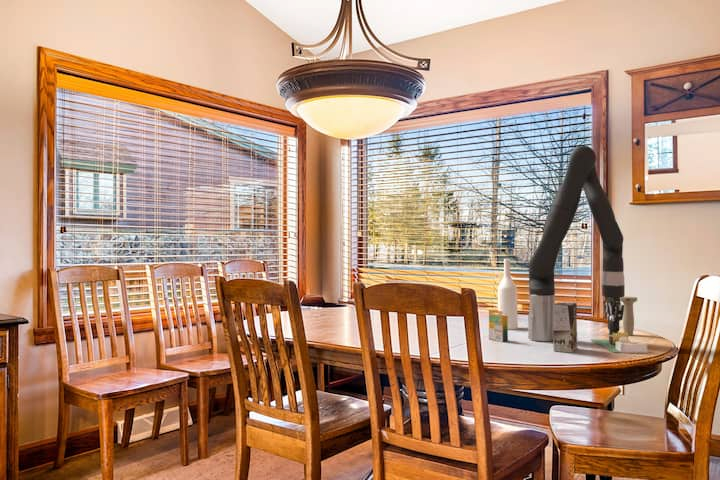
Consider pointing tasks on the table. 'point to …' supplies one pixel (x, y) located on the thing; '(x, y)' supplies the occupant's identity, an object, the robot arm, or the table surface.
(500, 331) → the crayon box
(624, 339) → the ball
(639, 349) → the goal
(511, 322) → the bottle
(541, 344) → the table surface
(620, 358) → the table surface
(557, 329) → the coffee box
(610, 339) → the brown cardboard carton
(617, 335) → the long multicoloured device
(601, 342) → the pitch
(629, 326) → the handle
